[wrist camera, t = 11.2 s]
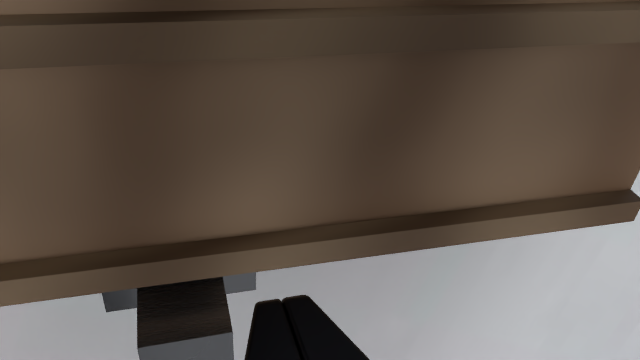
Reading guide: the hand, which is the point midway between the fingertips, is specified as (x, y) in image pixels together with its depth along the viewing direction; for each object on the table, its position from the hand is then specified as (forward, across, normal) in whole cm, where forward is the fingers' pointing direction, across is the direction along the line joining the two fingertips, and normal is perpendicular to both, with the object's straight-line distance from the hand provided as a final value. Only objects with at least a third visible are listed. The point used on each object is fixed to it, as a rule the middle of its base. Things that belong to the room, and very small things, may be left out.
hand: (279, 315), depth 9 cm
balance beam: (+6, +2, 0) cm, 6 cm away
